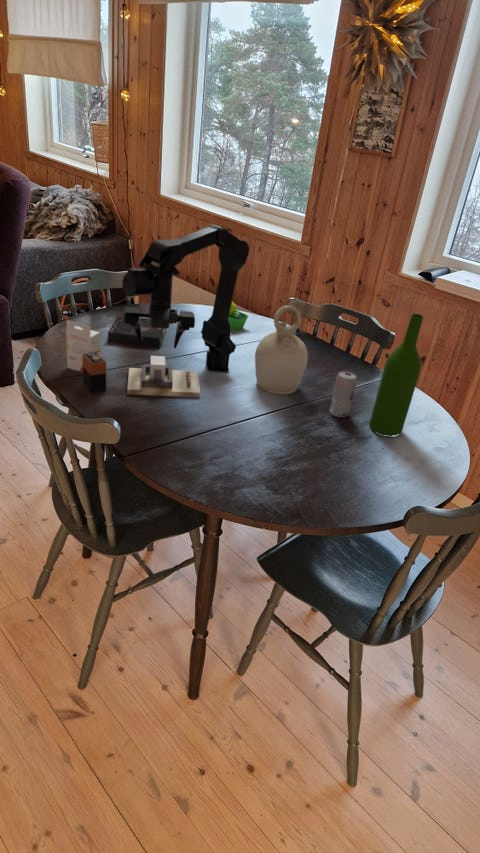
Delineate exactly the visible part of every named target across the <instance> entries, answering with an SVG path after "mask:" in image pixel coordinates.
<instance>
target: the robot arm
mask: <svg viewBox="0 0 480 853" xmlns="http://www.w3.org/2000/svg"><path fill="white" fill-rule="evenodd" d="M213 245H214V246H216V247H217V248H218V260H219V262H220V268H221V269H220V273H219V279H218V284H217V288H216V293H215V297H214V298H215V299H214V304H213V309H212V314H211V316H210V317H209V318H208V319H207V320H203V322H202V329H201V330H200V334H201V338H202V339H203V342H204V345H205V346H206V347H208V350H207V351H206V354H205V355H206V357H205V365H206V366H205V367H207V370H208V371H209V372H229V371H230V369H229V363H230V362H229V361H230V355H231V354H233V353H235V351H236V348H237V345H236V344H235V342H234V341H232V339H231V335H232V334H231V333H232V332H231V331H232V330H231V328H230V325H229V321H228V317H229V313H230V308H231V303H232V302H233V297H234V293H235V290H236V283H237V279H238V275H239V271H240V270H241V269H242V268H243V267H244V266H245V264H246V263H247V259H248V256H249V253H250V245H249V243H248V242H247V241H246V240H243V239H242V238H241V239H240V238H238V237H237V236H235V235H234V234H232V233H230V232H229V231H228V230H227V229H226V228H225V227H223V226H219V225H216V224H214V223H213V224H210V225H208V226H207V227H205V228H202V229H200V230H197V231H195V232H192V233H189V234H187V235H185V236H181V237H178V238H176V239H175V238H174V239H172V238H170V239H169V238H166V239H158V240H154V241H152V242H150V244H149V247H148V249H147V250H146V253H145V254H144V255H143V258H142V259H141V261H140V262H139V264H138V267H139V268H133V267H132V268H131V267H130V268H127V273H125V275H123V279H122V280H121V281H122V282H121V284H122V288H123V291H124V293H125V296H128V297H129V298H131V297H132V298H133V297H140V296H146V295H149V305H148V306H149V307H148V312H143V311H140V307H132V306H126V307H125V308H124V311H123V312H124V313H123V316H124V323H126V324H129V326H132V327H133V328H134V329H135V331H136V334H137V337H138V340H139V343H140V346H139V347H143V346H142V331H141V320H140V319H142V320H151V327H153V328H164V329H166V330H167V329H169V328H170V324H171V325H173V324H177V325H176V330H175V336H174V341H173V343H174V344H173V349H176V348H177V346H178V344H179V342H180V339H181V338H182V336H183V334H184V333H185V331H189V330H190V329H194V328H195V324H196V318H195V314H194V312H193V311H186V310H180V311H179V314H178V309H173V308H172V297H173V296H172V295H173V279H174V278H173V277H174V276H178V275H181V274H180V273H181V271H179V269H177V267H176V266H177V265H179V264H181V263H182V262H183V260H184V259H185V257H187V256H189V255H192V254H194V253H197V252H198V251H201V250H204V249H206V248H209V247H211V246H213ZM152 263H153V264H152Z"/></svg>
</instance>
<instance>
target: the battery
mask: <svg viewBox="0 0 480 853" xmlns="http://www.w3.org/2000/svg"><path fill="white" fill-rule="evenodd" d="M82 359H83V372H82V383H83V385H84V387H85V388H86V389H87V390H88V391H89V392H90V393H91V395H92V394H99V393H104V392H107V361H106V360H105V359H104V357H102V356H101V354H100V355H99V354H98V353H95V352H93V351H90V352H89V353H88V354H83V355H82Z"/></svg>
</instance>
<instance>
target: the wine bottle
mask: <svg viewBox="0 0 480 853" xmlns="http://www.w3.org/2000/svg"><path fill="white" fill-rule="evenodd" d="M423 320H424V316H423V315H421V314H419V313H412V314H410V319H409V321H408V325H407V329H406V332H405V335H404V338H403V342H402V343H401V344H400V345H399V346H398V347H397V348H396V349H394V350H393V351H392V352H391V353H390V354H389V355H388V357H387V359H386V361H385V363H384V368H383V372H382V375H381V378H380V381H379V387H378V389H377V390H378V391H377V394H376V397H375V398H376V399H375V401H374V404H373V408H372V413H371V416H370V420H369V423H368V424H369V426H370V427H369V426H368V427H369V429H370V428H371V429H372V430H373V431H375V432H377V433H379V434H382V435H388V436H389V435H390V436H392V435H397V434H400V433H401V432H403V429H404V426H405V423H406V418H407V416H408V412H409V409H410V406H411V403H412V399H413V396H414V392H415V390H416V386H417V384H418V380H419V376H420V373H421V368H422V361H421V358H420V356H419V351H418V348H417V341H418V337H419V335H420V332H421V326H422V323H423ZM371 429H370V430H371ZM372 430H371V431H372ZM373 431H372V432H373ZM401 434H402V433H401ZM401 434H400V435H401Z"/></svg>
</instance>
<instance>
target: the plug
mask: <svg viewBox="0 0 480 853" xmlns="http://www.w3.org/2000/svg"><path fill="white" fill-rule="evenodd" d="M150 365H151V366H150V379H151V380H165V366H166V356H165V355H164V356H163V355H150Z"/></svg>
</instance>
